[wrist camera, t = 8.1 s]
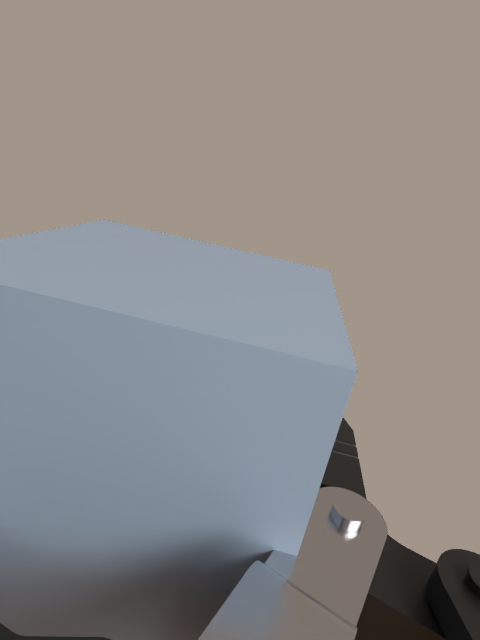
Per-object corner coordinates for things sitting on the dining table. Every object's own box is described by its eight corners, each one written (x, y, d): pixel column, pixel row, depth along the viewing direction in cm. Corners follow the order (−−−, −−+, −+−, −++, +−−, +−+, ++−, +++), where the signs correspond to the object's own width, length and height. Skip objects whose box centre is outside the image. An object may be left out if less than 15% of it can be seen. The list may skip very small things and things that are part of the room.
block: (-65, 750, 8) (-105, 258, 5) (77, 532, 13) (104, 219, 10) (204, 840, 8) (358, 370, 5) (244, 579, 13) (329, 270, 10)
